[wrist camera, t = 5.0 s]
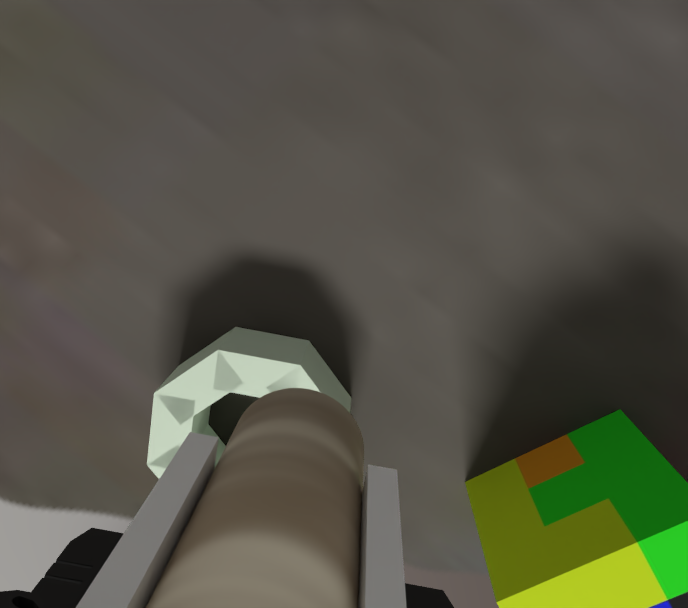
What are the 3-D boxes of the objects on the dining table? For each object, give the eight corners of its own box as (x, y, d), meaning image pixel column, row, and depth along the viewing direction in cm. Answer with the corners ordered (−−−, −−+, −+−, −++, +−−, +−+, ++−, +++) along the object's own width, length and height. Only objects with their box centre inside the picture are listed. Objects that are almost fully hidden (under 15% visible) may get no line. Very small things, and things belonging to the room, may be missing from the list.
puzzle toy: (536, 603, 39) (590, 756, 29) (464, 481, 37) (496, 602, 27) (686, 540, 37) (796, 681, 27) (619, 408, 35) (712, 510, 25)
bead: (183, 317, 35) (159, 338, 31) (361, 350, 35) (359, 376, 31) (166, 474, 37) (142, 512, 34) (330, 505, 37) (325, 546, 34)
